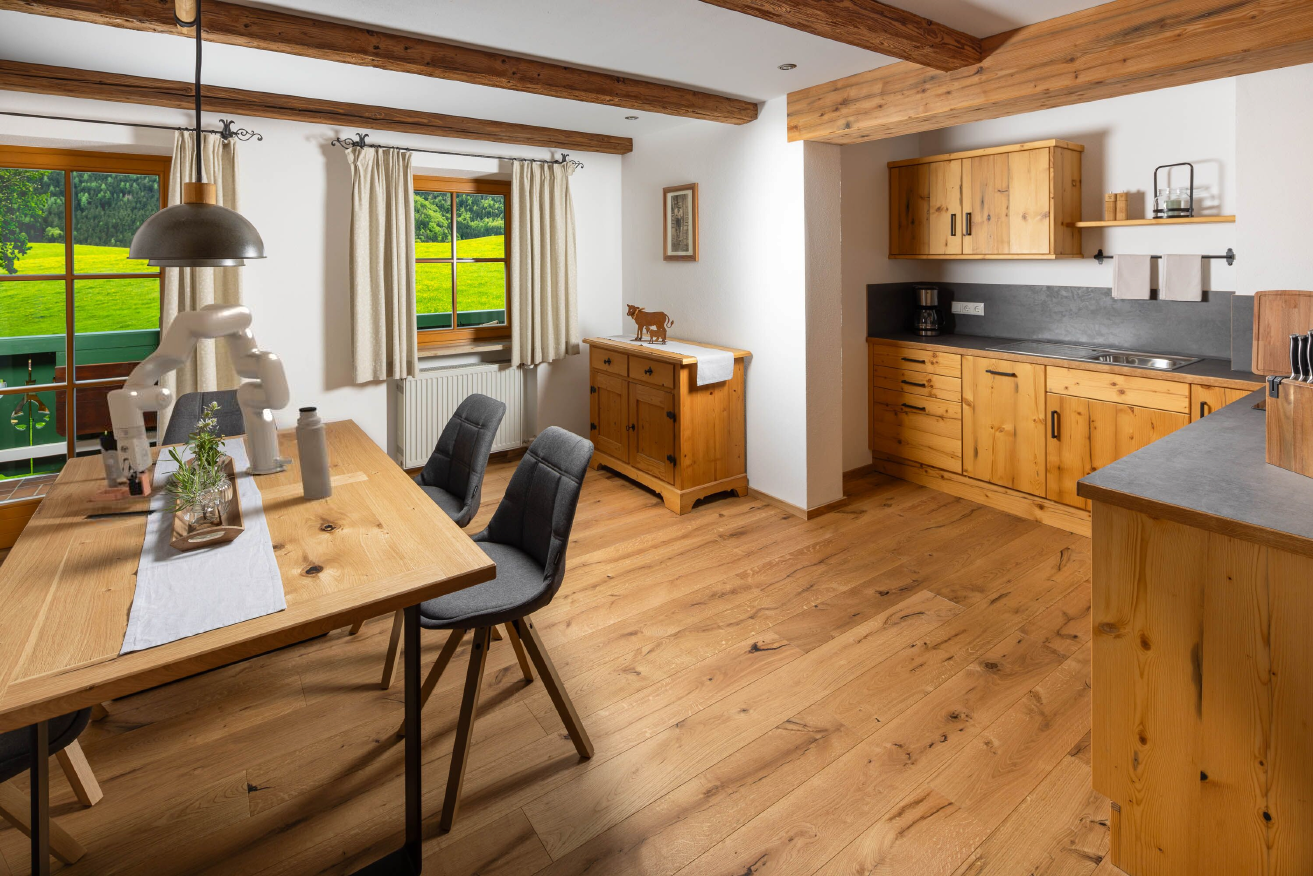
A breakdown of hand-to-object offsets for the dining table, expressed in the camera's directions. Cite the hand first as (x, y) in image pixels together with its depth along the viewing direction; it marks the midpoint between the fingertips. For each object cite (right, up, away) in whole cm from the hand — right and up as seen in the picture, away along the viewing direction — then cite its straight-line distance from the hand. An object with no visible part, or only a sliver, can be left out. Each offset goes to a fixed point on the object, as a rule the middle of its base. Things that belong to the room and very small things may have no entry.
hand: (140, 492), depth 217 cm
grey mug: (-29, +2, +37) cm, 47 cm away
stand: (-12, -3, +13) cm, 18 cm away
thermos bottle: (+46, -2, +13) cm, 48 cm away
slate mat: (-4, -6, 0) cm, 7 cm away
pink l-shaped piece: (-5, -1, -1) cm, 5 cm away
